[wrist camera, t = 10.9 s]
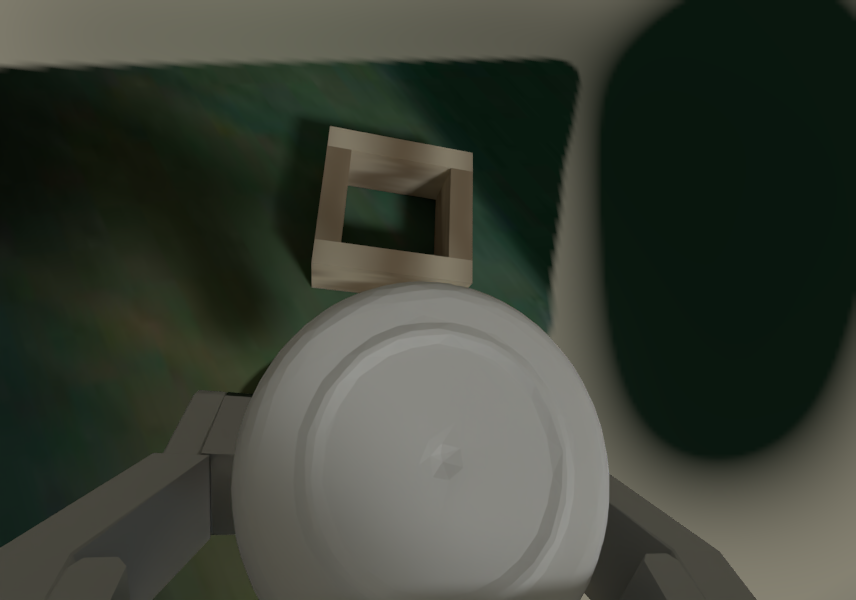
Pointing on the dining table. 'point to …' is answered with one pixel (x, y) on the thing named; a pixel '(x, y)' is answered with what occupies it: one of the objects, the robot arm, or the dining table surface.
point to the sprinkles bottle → (420, 456)
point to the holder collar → (404, 174)
